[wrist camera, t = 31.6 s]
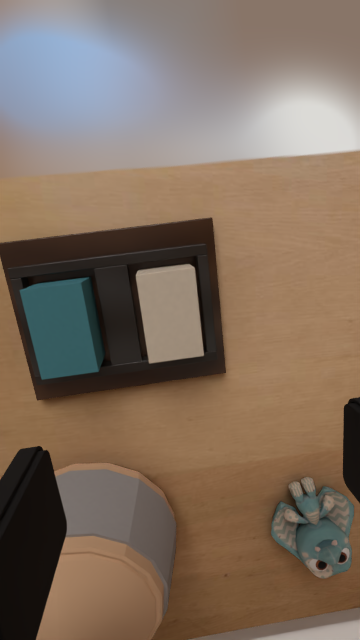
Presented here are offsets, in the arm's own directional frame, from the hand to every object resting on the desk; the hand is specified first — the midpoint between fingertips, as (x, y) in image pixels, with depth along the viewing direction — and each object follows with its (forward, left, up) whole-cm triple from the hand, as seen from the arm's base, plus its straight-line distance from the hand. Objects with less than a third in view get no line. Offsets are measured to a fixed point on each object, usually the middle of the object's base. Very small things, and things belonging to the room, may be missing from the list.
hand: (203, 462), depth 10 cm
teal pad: (0, -9, -23) cm, 25 cm away
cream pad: (0, 0, -23) cm, 23 cm away
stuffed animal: (+29, +14, -24) cm, 41 cm away
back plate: (0, -5, -24) cm, 25 cm away
